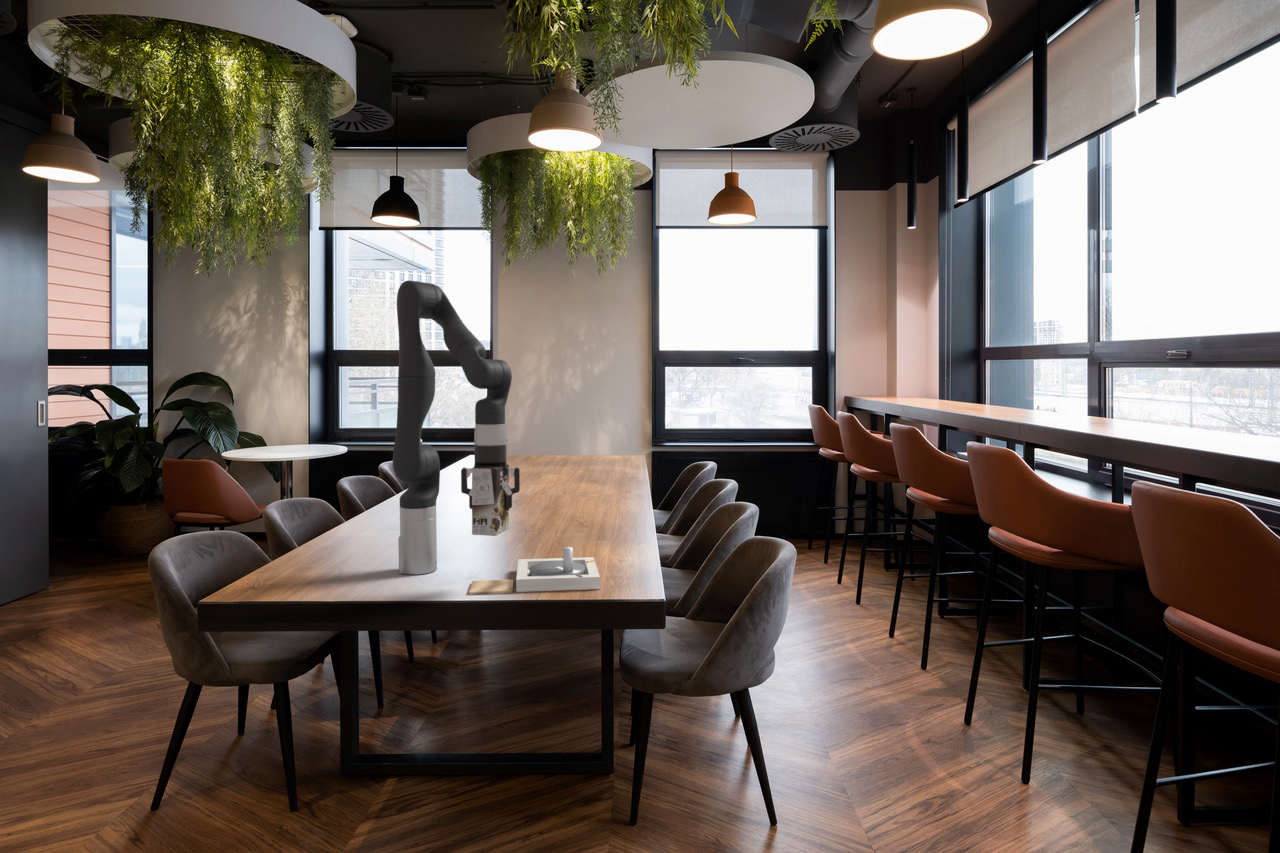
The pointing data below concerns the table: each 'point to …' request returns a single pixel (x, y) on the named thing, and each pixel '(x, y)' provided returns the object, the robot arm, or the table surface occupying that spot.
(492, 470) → the coffee box
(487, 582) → the coaster
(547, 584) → the white square tray
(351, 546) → the table surface
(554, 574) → the dial
